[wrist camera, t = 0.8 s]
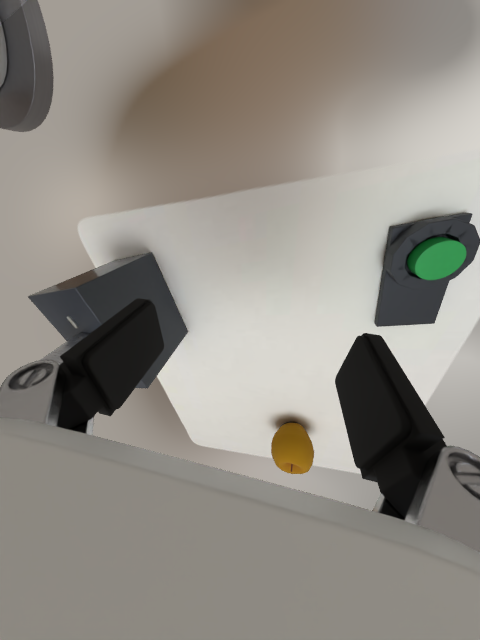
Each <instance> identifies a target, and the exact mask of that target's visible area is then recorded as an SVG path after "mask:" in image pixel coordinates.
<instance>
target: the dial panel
mask: <svg viewBox="0 0 480 640" xmlns="http://www.w3.org/2000/svg"><path fill="white" fill-rule="evenodd" d="M28 298H29V299H30V300H31V301H32V302H33V303H34V304H35V305H36V307H37V308H38V309H39V310H40V311H41V312H42V313H43V314H44V316H45V317H46V318H47V319H48V320H49V321H50V322H51V324H52V325H53V326H54V327H55V328H56V329H57V330H58V332H59V333H60V334H61V335H62V336H63V337H64V338H65V340H66V341H68V340H70V339H71V338H73V337H74V336H76V335H77V334H79V333H86V334H90V333H91V332H93V331H94V330H95V329H97V328H98V327H99V326H101V325H102V324H103V323H105V322H106V321H107V320H109V319H110V318H111V317H113V316H114V315H115V314H117V313H118V312H119V311H121V310H122V309H123V308H125V307H126V306H127V305H129V304H130V303H131V302H133V301H134V300H135V299H137V298H141V299H148V300H151V301H152V303H153V304H154V305H155V307H156V311H157V316H158V320H159V324H160V328H161V332H162V337H163V341H164V349H163V351H162V353H161V354H160V355H159V357H158V358H157V359H156V361H155V362H154V363H153V365H152V366H151V367H150V369H149V370H148V371H147V373H146V374H145V375H144V377H143V378H142V379H141V381H140V382H139V383H138V385H137V386H136V387H135V388H148V387H149V386H150V385H151V383H152V382H153V380H154V379H155V378H156V376H157V375H158V373H159V372H160V370H161V369H162V368H163V366H164V365H165V363H166V362H167V361H168V359H169V358H170V356H171V355H172V354H173V352H174V351H175V349H176V348H177V347H178V345H179V344H180V342H181V341H182V340H183V338H184V337H185V335H186V334H187V333H188V331H187V328H186V326H185V324H184V322H183V320H182V317H181V315H180V313H179V311H178V309H177V306H176V304H175V302H174V300H173V298H172V295H171V293H170V291H169V289H168V287H167V284H166V282H165V280H164V278H163V276H162V273H161V271H160V269H159V267H158V265H157V262H156V260H155V258H154V256H153V254H152V252H151V253H146V254H142V255H137V256H133V257H128V258H124V259H119V260H115V261H112V262H110V263H107V264H105V265H103V266H100V267H98V268H95V269H93V270H90V271H88V272H86V273H84V274H81V275H78V276H76V277H73V278H71V279H69V280H66V281H64V282H61V283H59V284H57V285H54V286H52V287H49V288H47V289H44V290H42V291H40V292H37V293H35V294H32V295H30V296H29V297H28Z"/></svg>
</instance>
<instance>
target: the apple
mask: <svg viewBox="0 0 480 640" xmlns="http://www.w3.org/2000/svg"><path fill="white" fill-rule="evenodd" d="M271 453H272V457H273V459H274V461H275V463H276V465H277V466H278V467H279V468H280V469H281V470H282V471H285V472H287V473H291V474H303V473H306V472H308V471H309V469H310V467H311V466H312V463H313V458H314V450H313V445H312V442H311V440H310V438H309V436H308V434H307V432H306V431H305V429H304V428H303V426H301V425H300V424H298V423H286V424H284V425H282V426H281V427H280V428H279V430H278V431H277V432H276V433H275V435H274V437H273V440H272V449H271Z"/></svg>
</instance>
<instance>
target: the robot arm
mask: <svg viewBox="0 0 480 640" xmlns="http://www.w3.org/2000/svg"><path fill="white" fill-rule="evenodd" d="M6 72H7V49H6V41H5V36H4V31H3V27H2V23H1V20H0V87H1V86H2V84H3V83H4V79H5V76H6ZM163 349H164V341H163V337H162V332H161V328H160V324H159V320H158V316H157V311H156V307H155V305H154V304H153V303H152V301H151V300H148V299H141V298H137V299H135V300H134V301H133V302H131V303H130V304H129V305H127V306H126V307H125V308H123V309H122V310H121V311H119V312H118V313H117V314H115V315H114V316H113V317H111V318H110V319H109V320H107V321H106V322H105V323H103V324H102V325H101V326H99V327H98V328H97V329H95V330H94V331H93V332H91V333H90V334H89V335H87V336H86V337H85V338H83V339H82V340H81V341H79V342H78V343H77V344H75V345H74V346H73V347H71V348H70V349H69V350H67V351H66V352H65V353H63V354H62V355H61V356H60V358H61V359H62V361H63V362H62V363H61V364H60V365H59V364H58V363H57V362H56V361H54V360H48V359H45V360H39V361H35V362H32V363H29V364H27V365H25V366H22V367H20V368H19V369H17V370H16V371H14V372H12V373H11V374H10V375H9V376H8V377H7V378H6V379H5V380H4V382H3V383H2V385H1V387H0V640H480V457H479V456H477V455H475V454H474V453H472V452H470V451H468V450H465V449H463V448H460V447H455V446H446V444H445V442H444V441H443V438H444V436H443V434H442V433H441V431H440V429H439V428H438V426H437V424H436V423H435V421H434V420H433V418H432V417H431V415H430V413H429V412H428V410H427V408H426V407H425V405H424V404H423V402H422V400H421V399H420V397H419V396H418V394H417V392H416V391H415V389H414V388H413V386H412V384H411V383H410V381H409V380H408V378H407V376H406V375H405V373H404V372H403V370H402V368H401V367H400V365H399V364H398V362H397V360H396V359H395V357H394V356H393V354H392V352H391V351H390V349H389V347H388V346H387V344H386V343H385V341H384V339H383V338H382V337H381V336H380V335H374V334H367V333H364V334H363V335H362V336H358V337H357V338H356V340H355V342H354V344H353V345H352V347H351V349H350V351H349V353H348V355H347V357H346V359H345V361H344V362H343V364H342V366H341V368H340V370H339V372H338V374H337V376H336V379H335V384H336V388H337V392H338V396H339V400H340V405H341V409H342V413H343V417H344V421H345V425H346V429H347V433H348V438H349V442H350V446H351V450H352V454H353V458H354V462H355V465H356V466H357V468H360V470H361V474H362V478H363V479H366V480H371V481H375V482H378V486H379V489H380V492H381V494H380V496H379V498H378V500H377V502H376V504H375V506H374V508H373V510H372V511H370V510H367V509H364V508H360V507H356V506H354V505H350V504H346V503H343V502H339V501H336V500H333V499H329V498H325V497H322V496H318V495H314V494H311V493H307V492H303V491H300V490H296V489H292V488H288V487H284V486H281V485H277V484H274V483H270V482H266V481H263V480H259V479H255V478H251V477H248V476H244V475H240V474H236V473H233V472H229V471H225V470H222V469H218V468H214V467H210V466H207V465H203V464H199V463H195V462H192V461H188V460H184V459H180V458H177V457H173V456H169V455H165V454H161V453H158V452H154V451H150V450H146V449H142V448H139V447H135V446H131V445H127V444H123V443H119V442H116V441H112V440H108V439H104V438H100V437H96V436H93V422H94V415H95V414H96V413H97V412H99V413H100V414H104V415H108V416H111V415H112V414H113V412H114V411H115V410H116V409H119V408H120V407H121V406H122V405H123V403H124V402H125V401H126V399H127V398H128V397H129V395H130V394H131V393H132V391H133V390H134V389H135V387H136V386H137V385H138V383H139V382H140V381H141V379H142V378H143V377H144V375H145V374H146V373H147V371H148V370H149V369H150V367H151V366H152V365H153V363H154V362H155V361H156V359H157V358H158V357H159V355H160V354H161V353H162V351H163Z"/></svg>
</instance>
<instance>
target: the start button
mask: <svg viewBox="0 0 480 640" xmlns="http://www.w3.org/2000/svg"><path fill="white" fill-rule="evenodd" d="M465 258H466V248H465V246H464V245H463V244H462V243H460V242H458V241H455V240H452V239H449V238H445V237H435V238H431V239H428V240H426V241H424V242H422V243H420V244H419V245H418V246H416V247H415V248H414V249H413V251H412V252H411V253H410V255H409V257H408V261H407V265H408V268H409V270H410V271H411V272H413V273H414V274H416V275H417V276H419V277H420V278H422V279H425V280H437V279H441V278H444V277H446V276H448V275H450V274H452V273H453V272H455V271H456V270H457V269H458V268H459V267H460V266H461V265H462V264H463V262H464V260H465Z"/></svg>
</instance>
